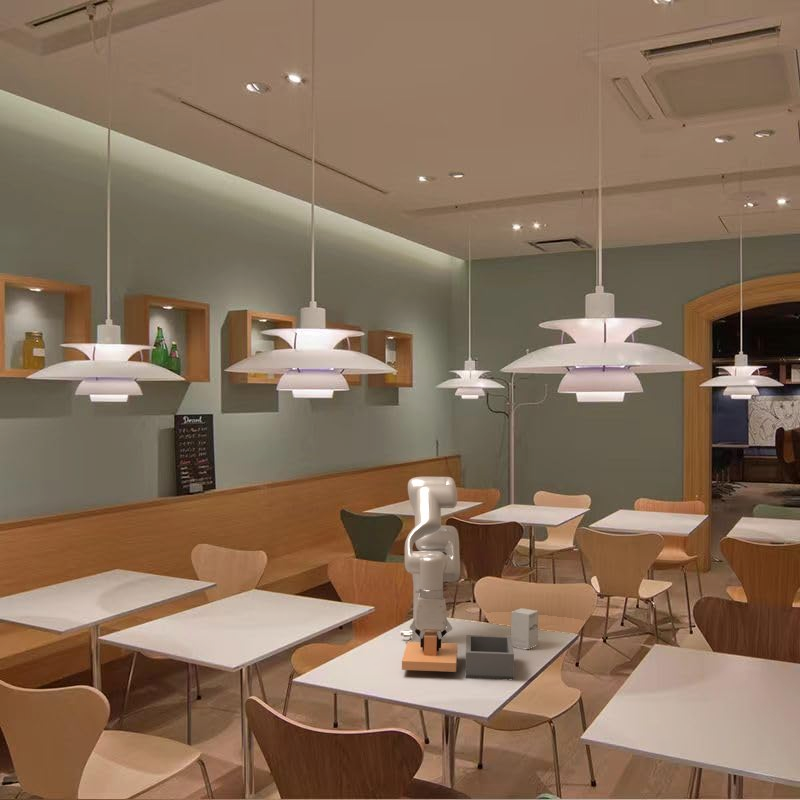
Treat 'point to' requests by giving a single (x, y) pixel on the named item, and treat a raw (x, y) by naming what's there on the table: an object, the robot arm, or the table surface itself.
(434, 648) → the lid
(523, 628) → the supplement box
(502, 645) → the tub
